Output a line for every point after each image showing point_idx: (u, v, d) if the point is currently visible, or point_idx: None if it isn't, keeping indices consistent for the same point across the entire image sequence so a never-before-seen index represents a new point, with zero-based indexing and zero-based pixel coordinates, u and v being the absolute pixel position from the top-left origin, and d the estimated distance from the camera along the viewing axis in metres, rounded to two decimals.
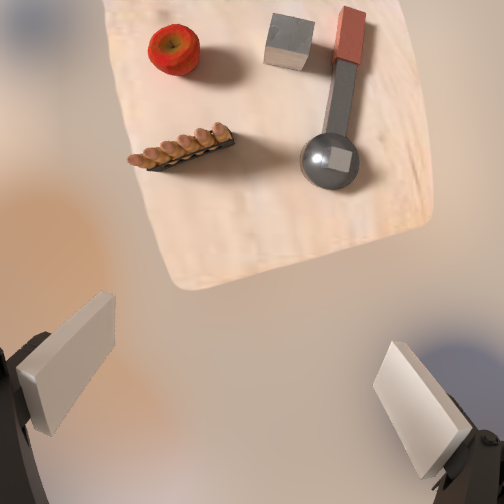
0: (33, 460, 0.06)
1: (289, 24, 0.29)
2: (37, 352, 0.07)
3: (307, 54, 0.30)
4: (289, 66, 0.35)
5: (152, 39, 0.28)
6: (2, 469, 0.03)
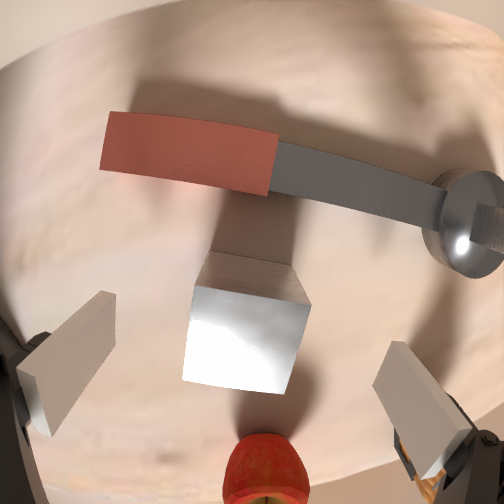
0: (33, 460, 0.06)
1: (214, 348, 0.13)
2: (37, 352, 0.07)
3: (308, 307, 0.13)
4: None
5: None
6: (2, 469, 0.03)
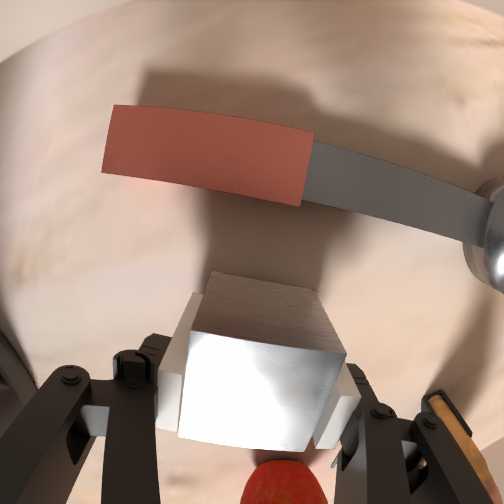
0: None
1: (218, 405, 0.10)
2: (170, 353, 0.10)
3: (342, 357, 0.09)
4: None
5: None
6: (130, 473, 0.05)
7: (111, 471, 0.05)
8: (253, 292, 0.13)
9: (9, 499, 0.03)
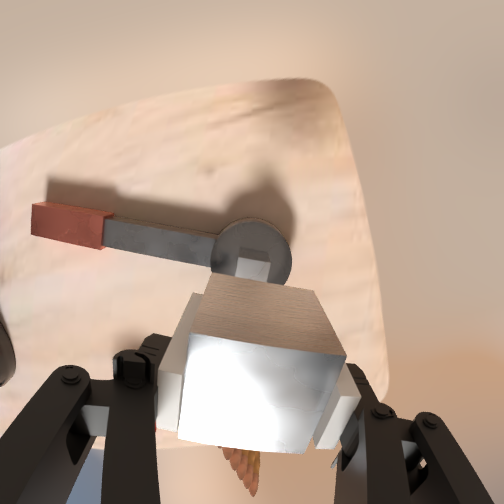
0: None
1: (217, 407, 0.10)
2: (170, 352, 0.10)
3: (342, 359, 0.09)
4: None
5: None
6: (130, 473, 0.05)
7: (111, 471, 0.05)
8: (253, 293, 0.13)
9: (9, 499, 0.03)
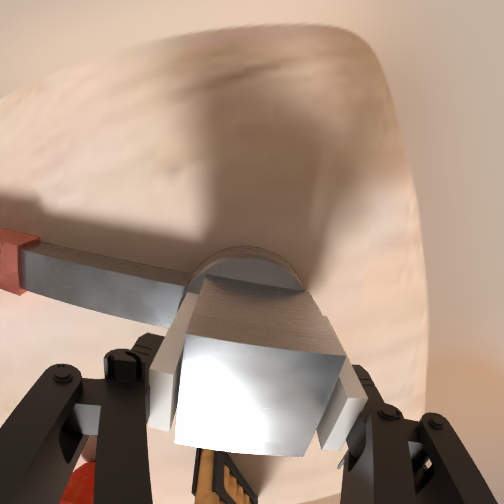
0: None
1: (214, 410, 0.09)
2: (162, 352, 0.10)
3: (341, 359, 0.09)
4: None
5: None
6: (122, 472, 0.05)
7: (103, 470, 0.05)
8: (248, 295, 0.13)
9: (3, 497, 0.03)
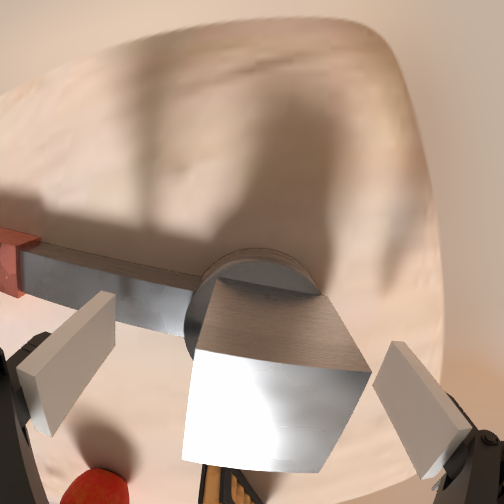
0: (33, 460, 0.06)
1: (226, 429, 0.08)
2: (37, 352, 0.07)
3: (366, 375, 0.08)
4: None
5: None
6: (2, 469, 0.03)
7: None
8: (263, 301, 0.12)
9: None
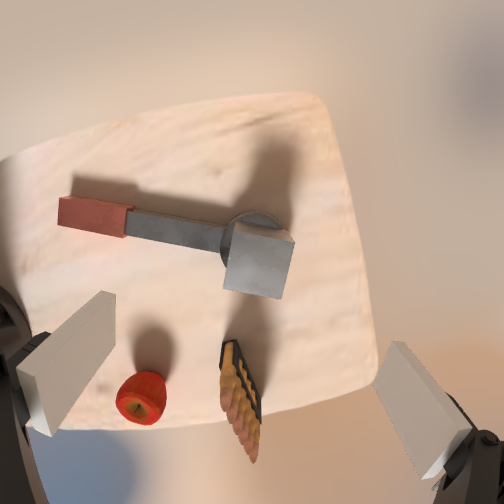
0: (33, 460, 0.06)
1: (242, 267, 0.26)
2: (37, 352, 0.07)
3: (293, 244, 0.25)
4: None
5: (133, 421, 0.33)
6: (2, 469, 0.03)
7: None
8: (256, 226, 0.29)
9: None
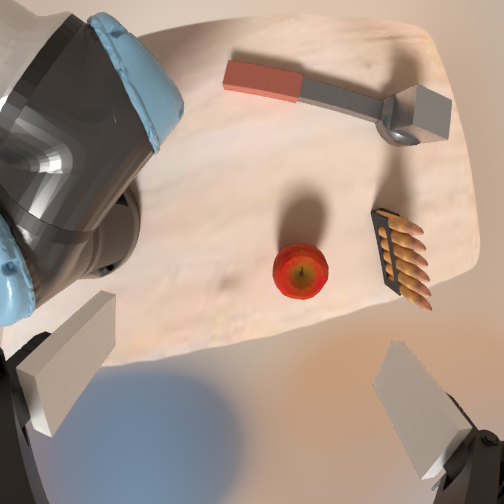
0: (33, 460, 0.06)
1: (424, 110, 0.27)
2: (37, 352, 0.07)
3: (451, 101, 0.27)
4: None
5: (292, 296, 0.34)
6: (2, 469, 0.03)
7: None
8: None
9: None
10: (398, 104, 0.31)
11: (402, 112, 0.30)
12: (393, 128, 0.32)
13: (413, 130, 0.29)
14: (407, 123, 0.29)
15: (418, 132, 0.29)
